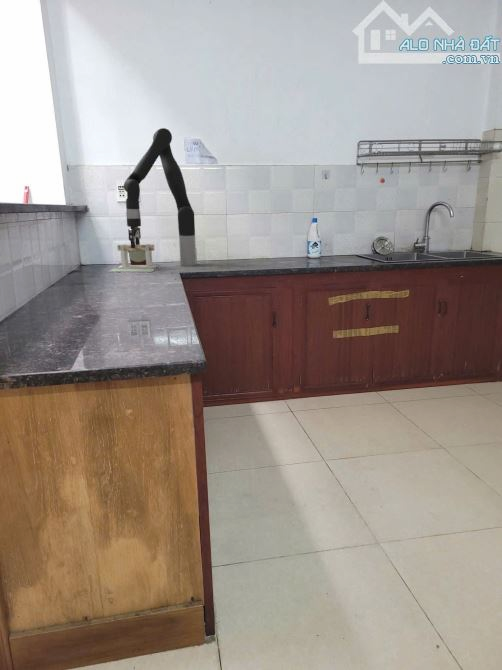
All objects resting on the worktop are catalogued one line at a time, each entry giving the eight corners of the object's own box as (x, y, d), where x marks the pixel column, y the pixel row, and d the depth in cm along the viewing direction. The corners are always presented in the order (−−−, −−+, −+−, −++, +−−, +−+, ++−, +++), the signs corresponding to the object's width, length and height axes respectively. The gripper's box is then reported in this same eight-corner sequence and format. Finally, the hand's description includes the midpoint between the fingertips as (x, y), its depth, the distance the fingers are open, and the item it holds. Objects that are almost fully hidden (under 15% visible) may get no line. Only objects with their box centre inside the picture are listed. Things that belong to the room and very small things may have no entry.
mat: (155, 269, 262) (155, 269, 262) (151, 272, 254) (151, 271, 254) (113, 269, 263) (113, 269, 263) (108, 272, 256) (108, 271, 256)
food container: (152, 264, 282) (150, 247, 279) (149, 265, 276) (147, 248, 273) (132, 264, 283) (130, 247, 280) (128, 265, 278) (127, 248, 275)
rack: (156, 267, 271) (154, 244, 267) (153, 269, 264) (151, 245, 261) (122, 267, 272) (120, 244, 269) (118, 269, 266) (116, 245, 262)
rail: (154, 250, 266) (153, 244, 265) (152, 250, 263) (152, 245, 263) (119, 250, 268) (119, 244, 267) (117, 250, 265) (117, 245, 264)
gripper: (136, 218, 253) (138, 248, 258) (143, 217, 267) (145, 246, 272) (122, 218, 254) (124, 248, 259) (130, 216, 268) (132, 245, 272)
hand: (135, 247), depth 265 cm, fingers open, 8 cm apart
